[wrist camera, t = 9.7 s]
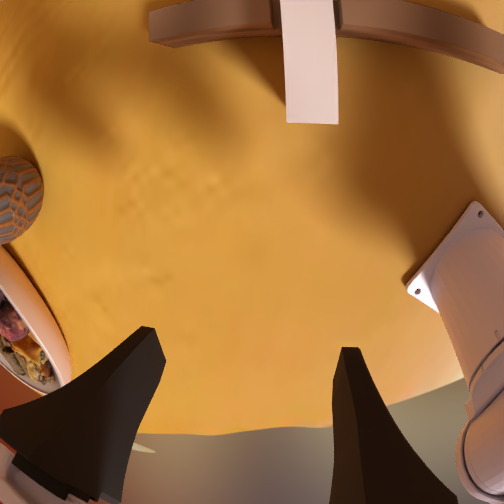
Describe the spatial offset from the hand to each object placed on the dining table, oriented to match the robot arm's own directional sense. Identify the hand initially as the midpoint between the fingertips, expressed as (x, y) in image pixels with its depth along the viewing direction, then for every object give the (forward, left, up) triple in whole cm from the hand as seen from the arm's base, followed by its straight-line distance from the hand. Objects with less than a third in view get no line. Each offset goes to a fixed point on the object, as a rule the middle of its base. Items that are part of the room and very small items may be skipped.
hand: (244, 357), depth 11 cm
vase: (+21, +6, -10) cm, 24 cm away
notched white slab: (+5, -13, -9) cm, 17 cm away
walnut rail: (+3, -14, -9) cm, 17 cm away
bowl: (+28, +29, -10) cm, 41 cm away
